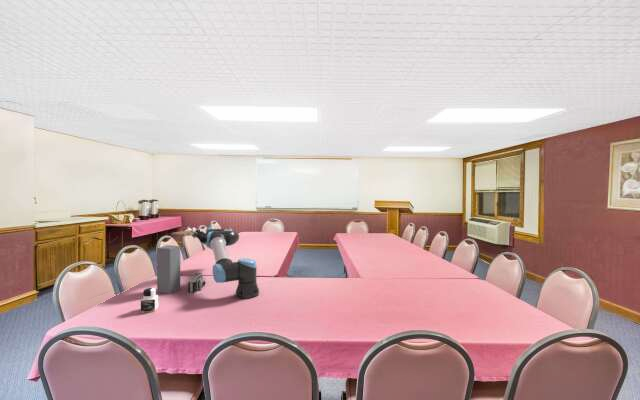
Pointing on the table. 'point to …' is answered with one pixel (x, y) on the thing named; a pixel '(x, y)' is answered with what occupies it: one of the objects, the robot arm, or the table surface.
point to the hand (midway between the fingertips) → (190, 228)
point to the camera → (195, 283)
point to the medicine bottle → (149, 300)
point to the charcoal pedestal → (168, 269)
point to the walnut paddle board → (183, 233)
